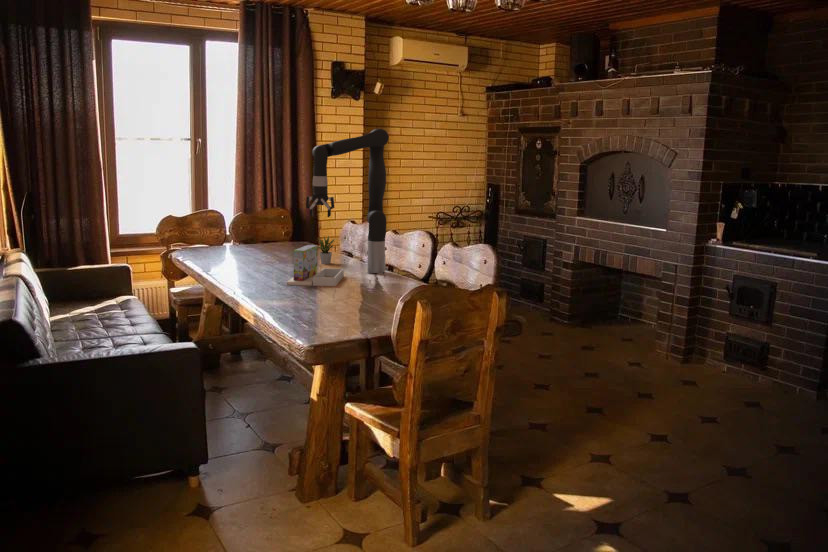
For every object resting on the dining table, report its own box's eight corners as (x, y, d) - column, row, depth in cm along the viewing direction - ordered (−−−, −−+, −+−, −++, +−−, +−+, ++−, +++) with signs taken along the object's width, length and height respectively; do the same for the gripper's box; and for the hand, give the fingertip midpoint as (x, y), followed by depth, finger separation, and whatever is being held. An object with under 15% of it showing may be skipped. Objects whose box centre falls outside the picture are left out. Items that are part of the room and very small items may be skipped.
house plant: (340, 265, 392) (340, 236, 389) (316, 266, 388) (315, 237, 386) (337, 261, 405) (337, 233, 402) (313, 262, 402) (313, 233, 399)
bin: (343, 276, 359) (343, 268, 358) (335, 286, 333) (335, 278, 332) (323, 275, 359) (323, 268, 359) (313, 285, 334) (313, 277, 333)
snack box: (304, 281, 336) (303, 250, 333) (293, 280, 337) (292, 249, 334) (317, 273, 356) (317, 244, 354) (307, 273, 357) (307, 244, 355)
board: (322, 275, 359) (322, 273, 359) (311, 285, 334) (311, 282, 334) (299, 275, 360) (299, 272, 360) (287, 284, 335) (286, 281, 334)
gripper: (335, 185, 358) (335, 216, 361) (307, 184, 359) (308, 215, 362) (332, 185, 351) (332, 217, 354) (304, 185, 352) (305, 217, 355)
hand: (320, 216), depth 358 cm, fingers open, 8 cm apart
